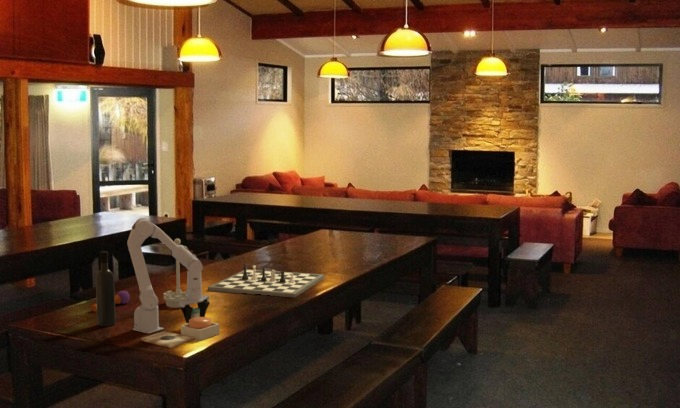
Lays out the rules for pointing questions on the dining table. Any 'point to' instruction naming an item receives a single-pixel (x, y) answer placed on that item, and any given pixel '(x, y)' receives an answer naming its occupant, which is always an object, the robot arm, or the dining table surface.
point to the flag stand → (177, 296)
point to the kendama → (116, 299)
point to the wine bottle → (105, 293)
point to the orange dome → (200, 322)
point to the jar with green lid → (195, 312)
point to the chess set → (267, 282)
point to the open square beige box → (200, 331)
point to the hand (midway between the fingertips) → (195, 321)
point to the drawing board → (167, 339)
